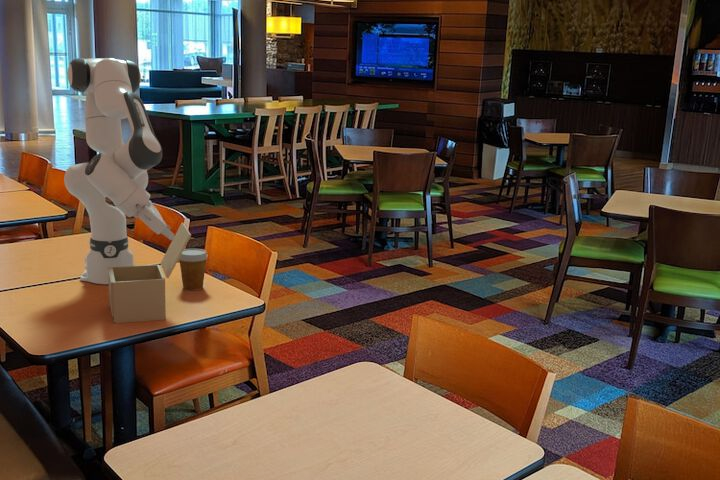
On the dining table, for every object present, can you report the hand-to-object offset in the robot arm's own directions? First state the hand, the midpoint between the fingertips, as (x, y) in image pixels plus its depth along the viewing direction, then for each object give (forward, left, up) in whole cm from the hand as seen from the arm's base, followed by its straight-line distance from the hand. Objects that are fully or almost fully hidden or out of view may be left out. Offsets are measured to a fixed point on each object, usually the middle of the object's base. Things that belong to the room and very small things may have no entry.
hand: (170, 234), depth 218 cm
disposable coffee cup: (-21, +9, -23) cm, 33 cm away
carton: (0, -10, -23) cm, 25 cm away
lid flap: (0, +1, -5) cm, 5 cm away
